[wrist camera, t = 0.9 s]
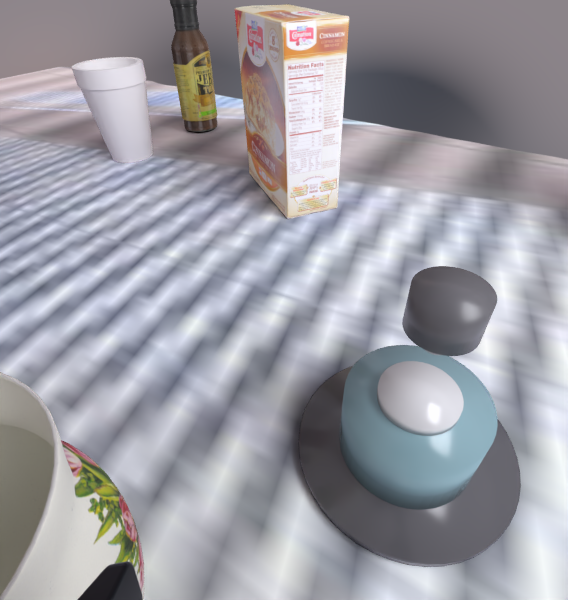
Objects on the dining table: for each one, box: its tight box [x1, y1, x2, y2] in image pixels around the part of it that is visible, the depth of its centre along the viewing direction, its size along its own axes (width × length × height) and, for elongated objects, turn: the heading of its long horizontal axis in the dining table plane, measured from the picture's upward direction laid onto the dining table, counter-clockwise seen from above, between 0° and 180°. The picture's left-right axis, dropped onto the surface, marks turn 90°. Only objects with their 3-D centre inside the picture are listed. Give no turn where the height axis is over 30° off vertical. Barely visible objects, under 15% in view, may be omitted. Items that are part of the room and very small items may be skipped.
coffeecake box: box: [235, 5, 349, 219], centre depth 47 cm, size 15×7×20 cm, turn 21°
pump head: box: [402, 266, 497, 356], centre depth 18 cm, size 3×3×3 cm
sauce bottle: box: [170, 0, 217, 132], centre depth 67 cm, size 6×6×20 cm
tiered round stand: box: [299, 345, 521, 567], centre depth 23 cm, size 13×13×6 cm
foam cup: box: [72, 57, 153, 163], centre depth 60 cm, size 10×9×13 cm
